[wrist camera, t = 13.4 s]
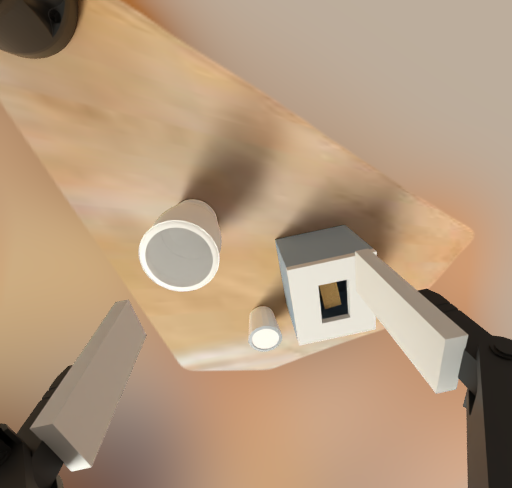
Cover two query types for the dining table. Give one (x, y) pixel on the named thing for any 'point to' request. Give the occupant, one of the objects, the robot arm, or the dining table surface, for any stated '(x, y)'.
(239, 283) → the dining table surface
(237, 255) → the dining table surface
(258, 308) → the white cylinder
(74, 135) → the dining table surface
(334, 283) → the wooden rectangular block
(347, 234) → the box
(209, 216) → the jar
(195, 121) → the dining table surface
